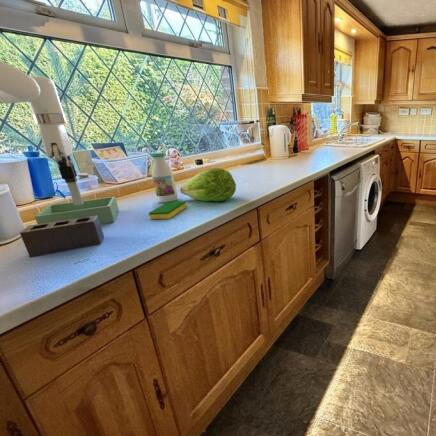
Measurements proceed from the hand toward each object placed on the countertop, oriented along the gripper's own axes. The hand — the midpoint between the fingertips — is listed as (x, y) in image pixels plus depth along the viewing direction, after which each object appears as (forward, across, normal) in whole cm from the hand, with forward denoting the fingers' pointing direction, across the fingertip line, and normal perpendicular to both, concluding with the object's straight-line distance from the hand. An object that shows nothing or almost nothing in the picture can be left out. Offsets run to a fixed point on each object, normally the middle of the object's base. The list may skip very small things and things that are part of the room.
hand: (69, 177), depth 101 cm
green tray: (+16, 0, 0) cm, 16 cm away
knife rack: (+16, +25, +1) cm, 30 cm away
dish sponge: (+16, +7, +27) cm, 32 cm away
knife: (+10, 0, 0) cm, 10 cm away
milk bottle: (+16, -13, +27) cm, 34 cm away
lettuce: (+16, -3, +42) cm, 45 cm away
